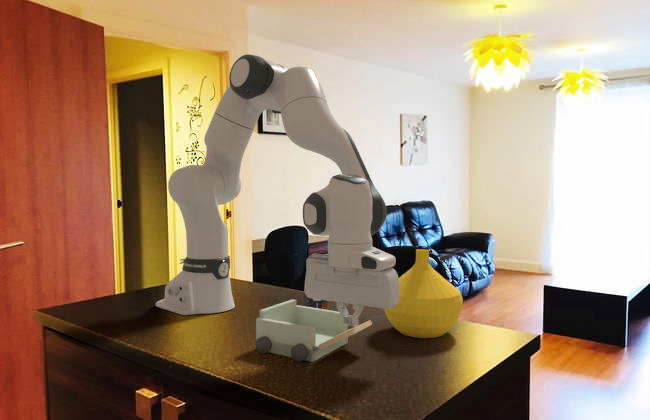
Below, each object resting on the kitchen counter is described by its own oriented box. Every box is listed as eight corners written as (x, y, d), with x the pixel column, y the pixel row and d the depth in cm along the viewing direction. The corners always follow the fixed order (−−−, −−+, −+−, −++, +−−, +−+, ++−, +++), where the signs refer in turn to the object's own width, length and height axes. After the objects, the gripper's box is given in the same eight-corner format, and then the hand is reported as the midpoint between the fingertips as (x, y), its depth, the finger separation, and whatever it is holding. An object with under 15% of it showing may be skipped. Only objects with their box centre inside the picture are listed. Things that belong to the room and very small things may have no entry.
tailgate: (318, 344, 103) (343, 333, 100) (346, 330, 112) (370, 319, 109) (321, 350, 102) (346, 339, 99) (349, 336, 112) (372, 325, 109)
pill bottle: (325, 331, 122) (325, 283, 122) (301, 329, 124) (300, 282, 123) (330, 324, 128) (330, 278, 128) (307, 322, 129) (306, 277, 129)
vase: (464, 324, 128) (465, 246, 126) (459, 348, 110) (461, 257, 109) (389, 318, 133) (390, 243, 132) (374, 340, 116) (374, 253, 115)
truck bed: (252, 351, 108) (251, 312, 108) (298, 331, 122) (298, 297, 122) (311, 364, 100) (311, 323, 100) (353, 341, 114) (353, 305, 114)
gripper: (298, 254, 107) (298, 321, 108) (389, 262, 96) (389, 336, 97) (315, 250, 112) (315, 314, 113) (403, 258, 102) (403, 328, 102)
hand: (350, 324), depth 105 cm, fingers closed
